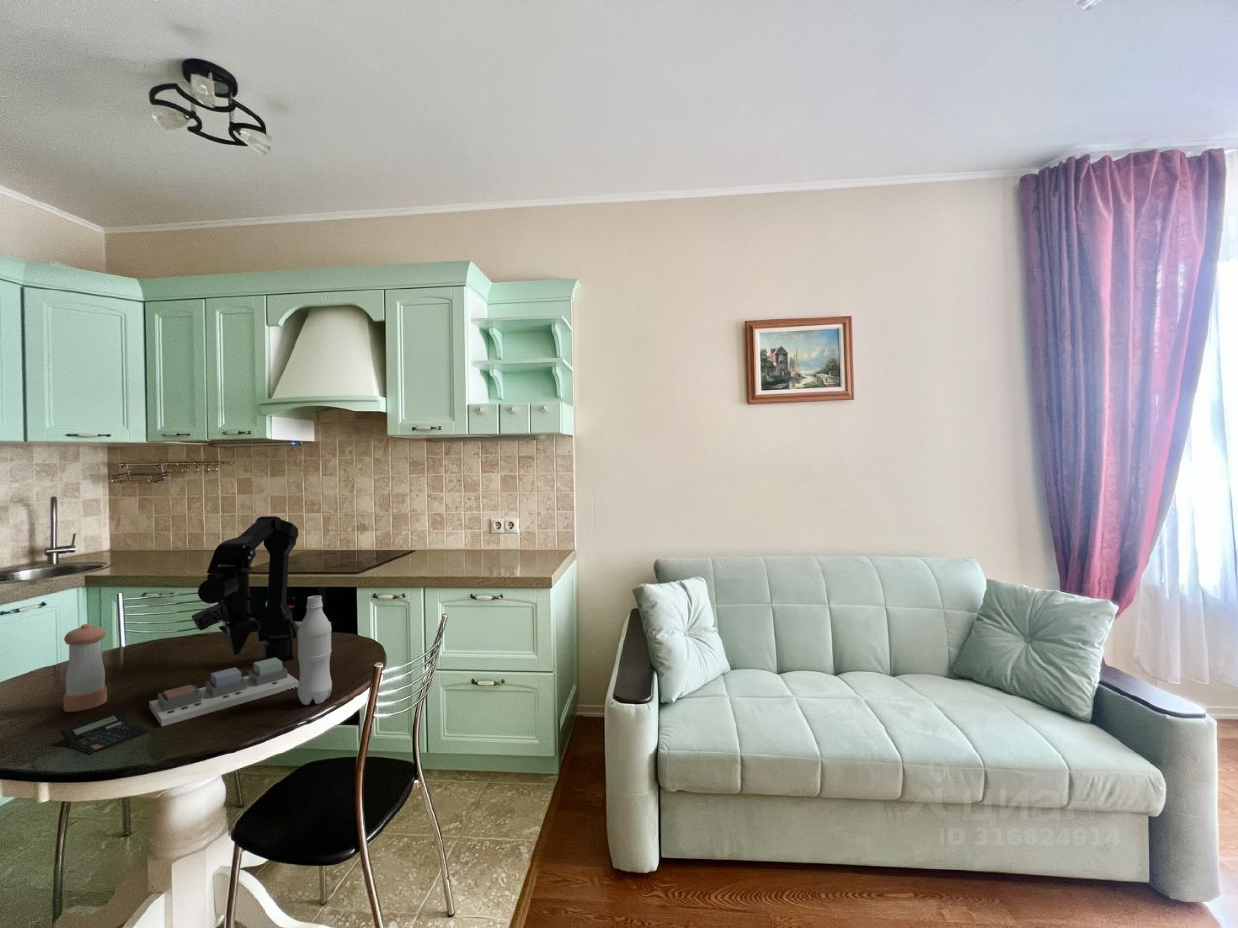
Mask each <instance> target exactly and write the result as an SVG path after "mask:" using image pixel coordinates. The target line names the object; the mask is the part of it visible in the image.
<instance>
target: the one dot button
mask: <svg viewBox="0 0 1238 928" xmlns="http://www.w3.org/2000/svg"><path fill="white" fill-rule="evenodd" d="M282 666H283V662H282V661H280V660H279V659H277V658H276V657H275V658H271V659H267V660H263V659H262V660H258V661H255V662H253V670H254V673H255V674H256V675H258V676H263V675H267V674H270V673H274V672H278V671H282Z"/></svg>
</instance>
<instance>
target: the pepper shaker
mask: <svg viewBox="0 0 1238 928" xmlns="http://www.w3.org/2000/svg"><path fill="white" fill-rule="evenodd" d="M106 633H107V632H106V630H105V628H104V627H102V626H98V625H90V623H89V624H88V623H85V624H82V625H81V626H80V627H78V628H75V629H72V630H71V631H69V632H67V633H66V635H65V636H64V639H63V640H64V643H65V644H66V645H68V665H67V670H66V674H65V693H64V694H63V711H64V712H66V713H67V712H69V713H70V712H71V713H72V712H81V711H86V710H90V709H93V708H96V707H99V706H100V705H103V704H105V703H107V701H108V700H107V699H108V695H107V694H108V688H107V687H108V686H107V685H106V684H105V682H106V681H105V679H106V671H105V670H106V669H105V666H104V662H103V658H102V657H103V655H102V639H104V638H105V637H106Z"/></svg>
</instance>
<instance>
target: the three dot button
mask: <svg viewBox="0 0 1238 928" xmlns="http://www.w3.org/2000/svg"><path fill="white" fill-rule="evenodd" d="M163 693H164V699H165V700H166V701H168V700H172V699H175V698H179V697H183V696H187V695H191V694H194V693H196V690H195V689H194V688H193V687H192V684H189V685H185V686H180V687H175V688H172V689H167V690H164V691H163Z"/></svg>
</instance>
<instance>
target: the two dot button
mask: <svg viewBox="0 0 1238 928" xmlns="http://www.w3.org/2000/svg"><path fill="white" fill-rule="evenodd" d="M241 676H242V671H241V670H239V669H238V668H237V667H231V668H226V669H223V670H219V671H215V672H214V671H213V672H211V673H210V681H211V684H212V685H213V686H214V687H215V688H217V687H221V686H225V685H229V684H232V683H236V682H240V681H241Z"/></svg>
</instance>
